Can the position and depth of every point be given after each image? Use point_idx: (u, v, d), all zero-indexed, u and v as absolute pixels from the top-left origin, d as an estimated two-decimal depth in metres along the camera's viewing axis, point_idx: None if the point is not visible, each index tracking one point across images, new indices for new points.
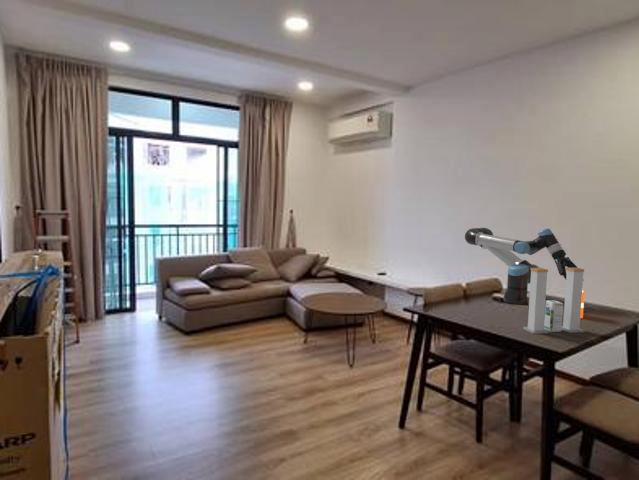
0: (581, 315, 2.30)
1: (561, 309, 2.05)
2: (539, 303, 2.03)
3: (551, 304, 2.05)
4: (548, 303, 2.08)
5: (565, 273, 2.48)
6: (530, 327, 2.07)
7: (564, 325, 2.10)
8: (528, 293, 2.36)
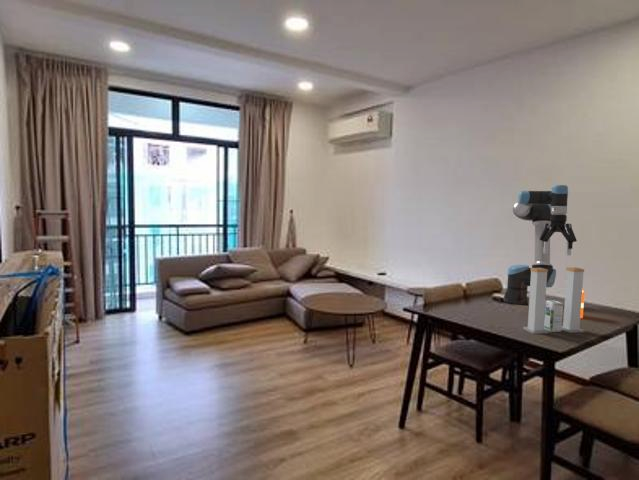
0: (581, 315, 2.30)
1: (561, 309, 2.05)
2: (539, 303, 2.03)
3: (551, 304, 2.05)
4: (548, 303, 2.08)
5: (543, 241, 2.30)
6: (530, 327, 2.07)
7: (564, 325, 2.10)
8: (528, 293, 2.36)
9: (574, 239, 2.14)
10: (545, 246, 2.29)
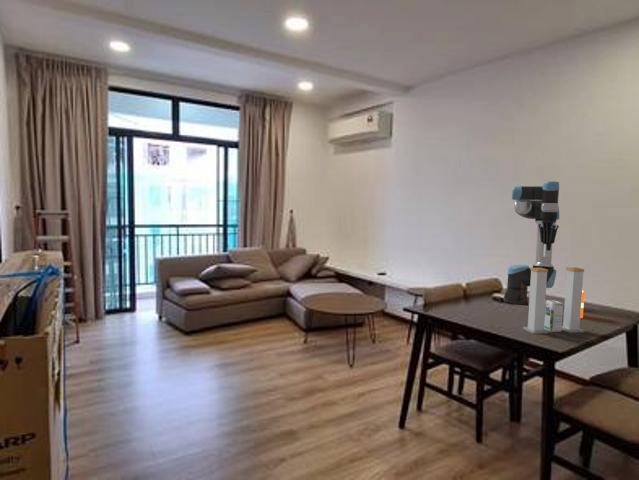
0: (581, 315, 2.30)
1: (561, 309, 2.05)
2: (539, 303, 2.03)
3: (551, 304, 2.05)
4: (548, 303, 2.08)
5: (544, 243, 2.21)
6: (530, 327, 2.07)
7: (564, 325, 2.10)
8: (528, 293, 2.36)
9: (551, 242, 2.16)
10: None
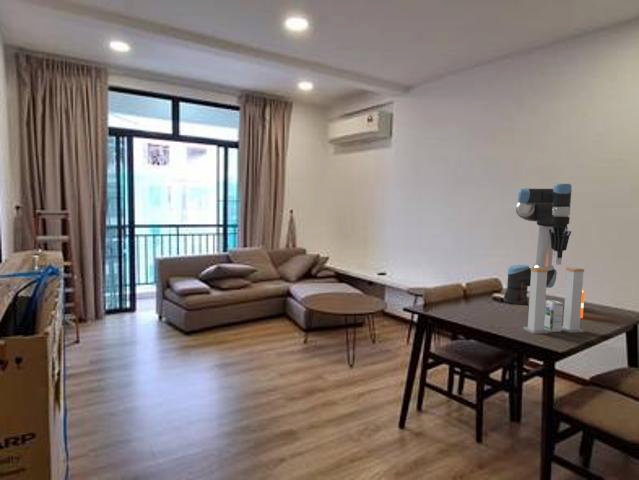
0: (581, 315, 2.30)
1: (561, 309, 2.05)
2: (539, 303, 2.03)
3: (551, 304, 2.05)
4: (548, 303, 2.08)
5: (555, 250, 2.05)
6: (530, 327, 2.07)
7: (564, 325, 2.10)
8: (528, 293, 2.36)
9: (563, 249, 2.00)
10: None
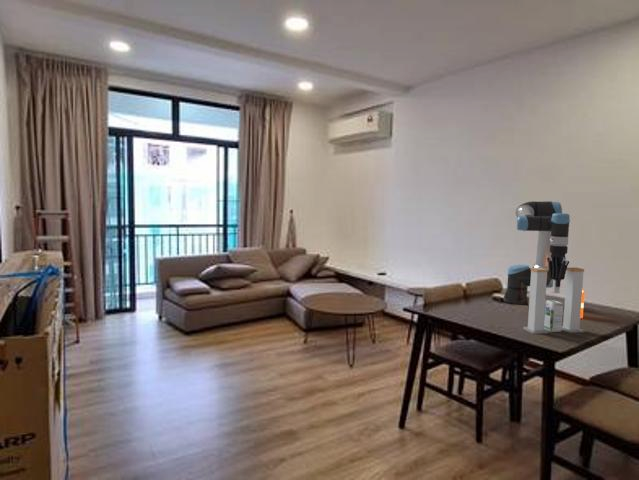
0: (581, 315, 2.30)
1: (561, 309, 2.05)
2: (539, 303, 2.03)
3: (551, 304, 2.05)
4: (548, 303, 2.08)
5: (553, 279, 2.07)
6: (530, 327, 2.07)
7: (564, 325, 2.10)
8: (528, 293, 2.36)
9: (561, 278, 2.02)
10: None
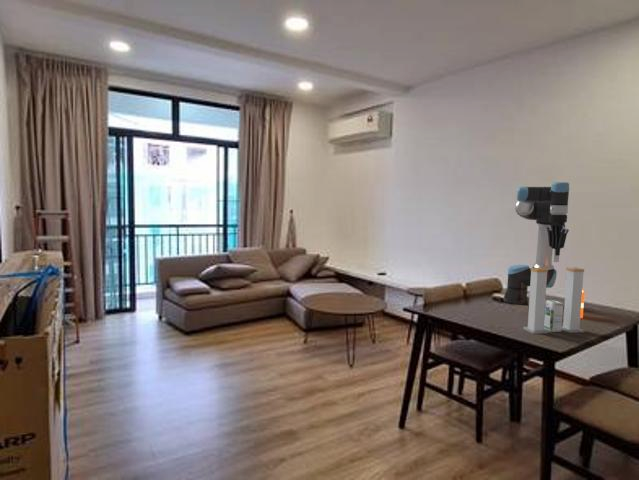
0: (581, 315, 2.30)
1: (561, 309, 2.05)
2: (539, 303, 2.03)
3: (551, 304, 2.05)
4: (548, 303, 2.08)
5: (552, 248, 2.08)
6: (530, 327, 2.07)
7: (564, 325, 2.10)
8: (528, 293, 2.36)
9: (561, 246, 2.04)
10: None
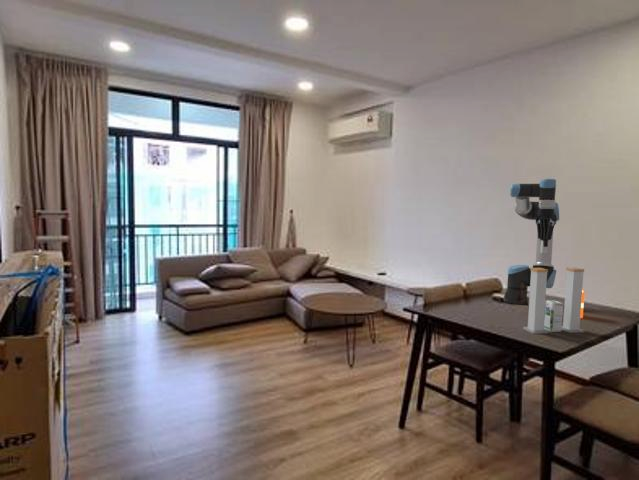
0: (581, 315, 2.30)
1: (561, 309, 2.05)
2: (539, 303, 2.03)
3: (551, 304, 2.05)
4: (548, 303, 2.08)
5: (541, 240, 2.25)
6: (530, 327, 2.07)
7: (564, 325, 2.10)
8: (528, 293, 2.36)
9: (548, 238, 2.20)
10: None
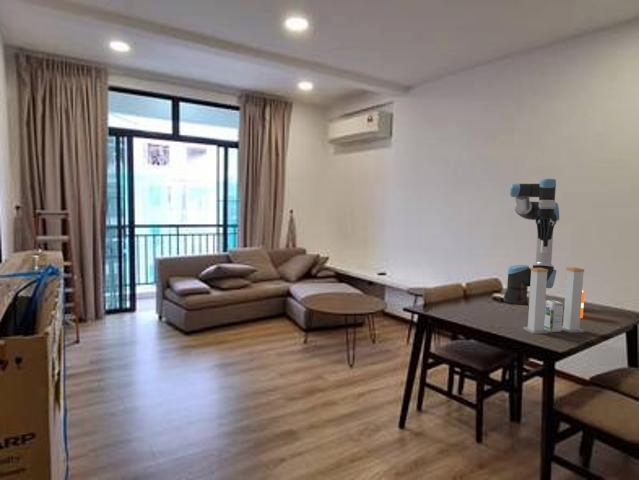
0: (581, 315, 2.30)
1: (561, 309, 2.05)
2: (539, 303, 2.03)
3: (551, 304, 2.05)
4: (548, 303, 2.08)
5: (541, 240, 2.25)
6: (530, 327, 2.07)
7: (564, 325, 2.10)
8: (528, 293, 2.36)
9: (548, 238, 2.20)
10: None
